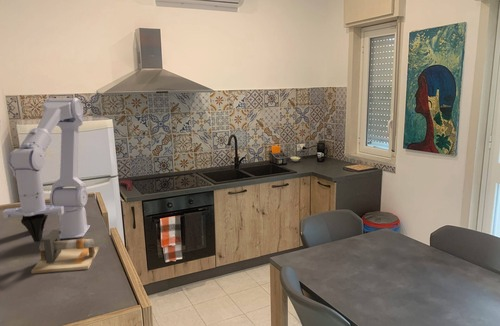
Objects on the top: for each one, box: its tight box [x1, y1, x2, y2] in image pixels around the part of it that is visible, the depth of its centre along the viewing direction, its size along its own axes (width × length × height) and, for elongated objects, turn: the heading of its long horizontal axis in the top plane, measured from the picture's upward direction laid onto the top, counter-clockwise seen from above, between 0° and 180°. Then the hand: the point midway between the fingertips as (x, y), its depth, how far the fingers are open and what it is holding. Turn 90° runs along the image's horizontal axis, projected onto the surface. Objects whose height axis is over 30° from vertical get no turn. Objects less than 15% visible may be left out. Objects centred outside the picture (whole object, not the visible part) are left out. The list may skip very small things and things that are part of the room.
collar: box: [42, 229, 61, 263], centre depth 102 cm, size 7×2×7 cm, turn 9°
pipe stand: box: [31, 238, 100, 275], centre depth 102 cm, size 12×14×6 cm
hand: (38, 240), depth 101 cm, fingers closed
